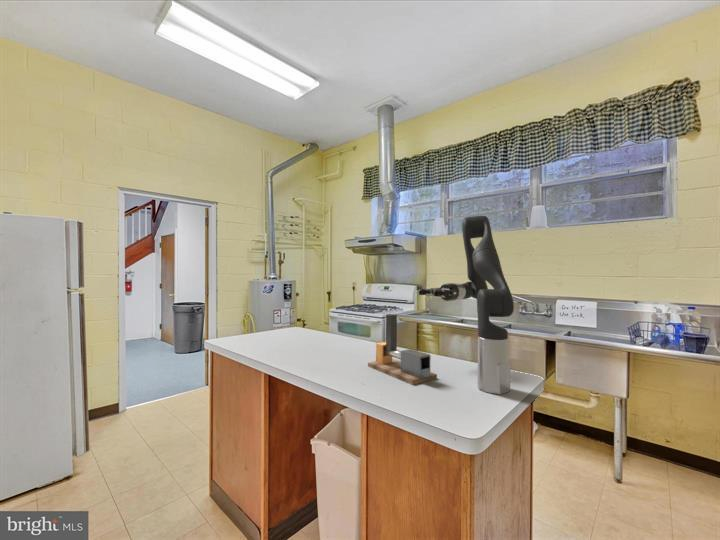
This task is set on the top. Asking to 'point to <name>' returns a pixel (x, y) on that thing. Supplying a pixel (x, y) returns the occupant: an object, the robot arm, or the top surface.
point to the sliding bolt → (391, 337)
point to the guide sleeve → (415, 363)
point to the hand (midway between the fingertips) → (426, 293)
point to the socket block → (380, 356)
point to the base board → (399, 372)
